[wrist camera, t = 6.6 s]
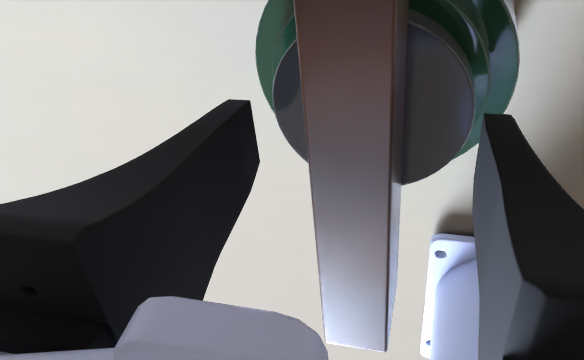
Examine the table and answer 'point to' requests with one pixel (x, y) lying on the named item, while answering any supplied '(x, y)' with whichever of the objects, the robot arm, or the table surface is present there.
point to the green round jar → (413, 76)
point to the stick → (354, 158)
